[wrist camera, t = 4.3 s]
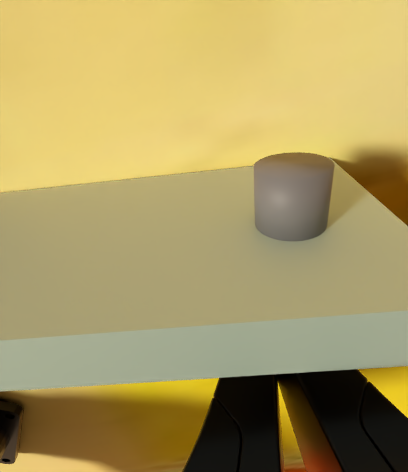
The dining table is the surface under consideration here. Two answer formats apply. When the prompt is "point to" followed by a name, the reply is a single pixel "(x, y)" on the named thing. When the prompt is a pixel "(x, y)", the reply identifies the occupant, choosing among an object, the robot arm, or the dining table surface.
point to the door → (201, 277)
